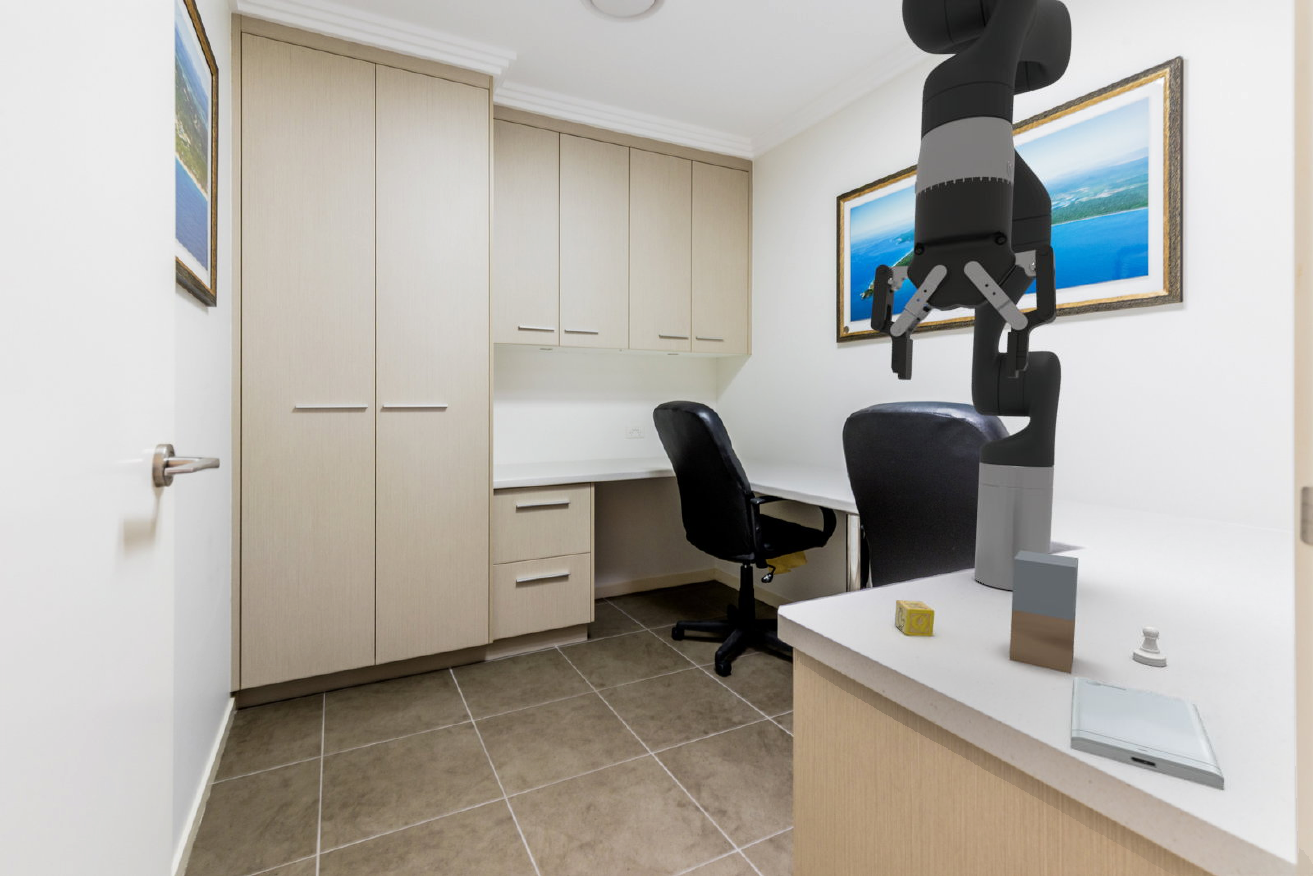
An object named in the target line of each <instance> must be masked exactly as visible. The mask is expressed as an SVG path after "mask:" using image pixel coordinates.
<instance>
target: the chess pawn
mask: <svg viewBox="0 0 1313 876" xmlns="http://www.w3.org/2000/svg"><path fill="white" fill-rule="evenodd" d="M1159 636H1160V631H1159V629H1158V628H1157V627H1154V626H1151V625H1147V626H1144V627H1143V628H1142V637H1144V639H1143V643H1142V644H1141V645H1139V648H1135V649H1133V650H1132V651H1133V652H1132V658H1133V660H1134V661H1136V662H1137V663H1140V664H1142V665H1146V666H1150V667H1164V666H1167V656H1166V655H1165V654H1163V653H1161V650H1160V648H1159V647H1158V644H1157V640H1159V639H1160V638H1159Z"/></svg>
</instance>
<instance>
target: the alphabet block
mask: <svg viewBox="0 0 1313 876" xmlns="http://www.w3.org/2000/svg"><path fill="white" fill-rule="evenodd" d="M895 601H896V602H895V613H894V615H895V617H894V626H896V627H897V628H898V629H899V630H900V631H901V632H902V633H903V634H904V635H905V636H912V637H913V636H915V637H917V636H918V637H933V636H934V634H933V633H934V622H935V621H934V620H935V610H934V609H933V608H931V607H930V606H928V605H927V604H926V603H925V602H923V601H921V600H909V599H907V600H904V599H897V600H895Z"/></svg>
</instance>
